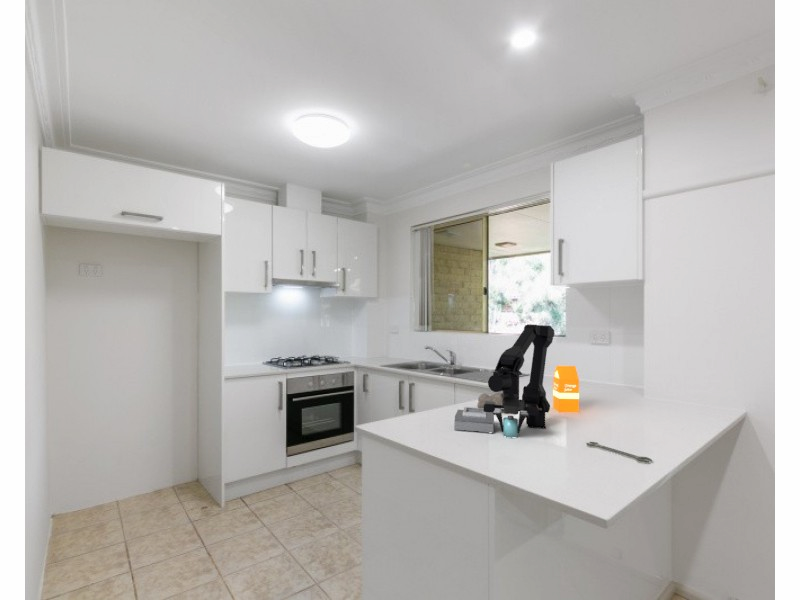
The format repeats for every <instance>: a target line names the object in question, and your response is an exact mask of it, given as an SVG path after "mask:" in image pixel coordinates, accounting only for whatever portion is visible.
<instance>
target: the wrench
mask: <svg viewBox="0 0 800 600" xmlns="http://www.w3.org/2000/svg"><path fill="white" fill-rule="evenodd" d="M586 447H588V448H592V449H599V450H601V451H605V452H607V451H608V453H611V452H612V454H614V453H615V454H614V455H617V454H618V456H620V455H621V456H620V457H625V458H628V459H631V460H634V461H636V462H637V463H639V464H642V465H643V464H644V465H650V463H651V464H653V460H652V458H651V457H648V456H642V455H641V456H639V455H636V454H632V453H629V452H626V451H625V452H624V451H622V450H618V449H616V448H612V447H609V446H606V445H602V444H600V443H598V442H595V441H589V442H586Z"/></svg>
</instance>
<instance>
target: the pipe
mask: <svg viewBox="0 0 800 600" xmlns="http://www.w3.org/2000/svg"><path fill="white" fill-rule="evenodd" d="M502 400H503V392H502V391H499V392H495V393H493V394H491V395H489V394H488V393H481V394H480V395H479V396H478V402H477V404H476V405H477V406H476V408H484V402H485V401H492V402H495V404H498V405H502ZM501 412H502V413H504V410H501Z"/></svg>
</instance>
